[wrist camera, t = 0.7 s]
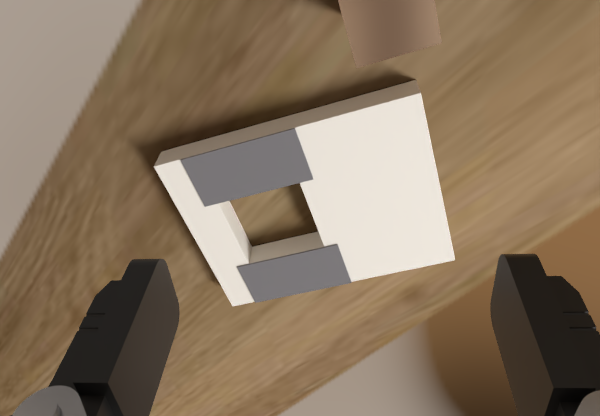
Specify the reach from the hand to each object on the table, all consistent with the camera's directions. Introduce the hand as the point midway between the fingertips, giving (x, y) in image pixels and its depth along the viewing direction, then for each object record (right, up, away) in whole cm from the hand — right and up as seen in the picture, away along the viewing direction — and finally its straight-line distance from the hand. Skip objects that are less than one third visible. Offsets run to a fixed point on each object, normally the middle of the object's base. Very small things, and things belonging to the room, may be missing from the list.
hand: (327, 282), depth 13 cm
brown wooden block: (+4, +15, +17) cm, 23 cm away
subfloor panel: (0, +2, +26) cm, 26 cm away
